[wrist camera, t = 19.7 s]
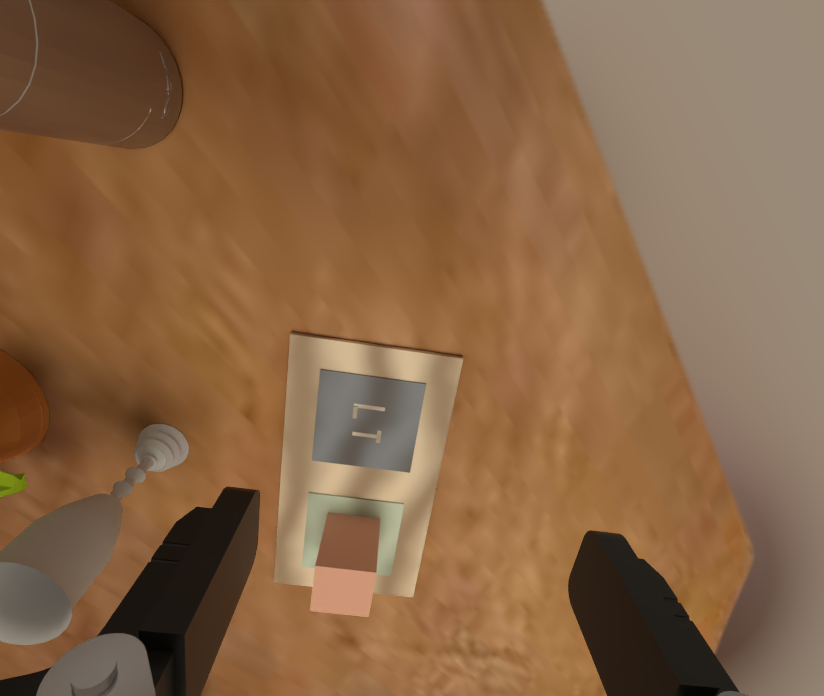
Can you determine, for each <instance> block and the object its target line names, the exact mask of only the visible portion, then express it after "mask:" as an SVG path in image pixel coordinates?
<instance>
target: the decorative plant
mask: <svg viewBox="0 0 824 696" xmlns="http://www.w3.org/2000/svg"><path fill="white" fill-rule="evenodd" d="M48 425H49V409H48V404H47V401H46V398H45V395H44V393H43V391H42V390H41V388H40V386H39V384H38V383H37V381H36V380H35V379H34V378H33V376H32V375H31V374H30V373H29V371H28V370H27V369H26V368H24V367H23V366H22V365H21V364H20V363H19V362H18V361H17V360H16V359H14V358H13V357H11V356H10V355H8V354H7V353H5V352H4V351H2V350H0V464H1V463H3V462H5V461H7V460H10V459H14V458H16V457H19V456H21V455H23V454H26V453H28V452H30V451H31V450H33V449H34V448H35V447H37V446H38V445H39V444H40V442H41V441H42V440H43V439H44V437H45V435H46V432H47V430H48ZM24 476H25V474H18V475H14V474H10V473H6V472H2V471H0V497H3V496H6V495H9V494H14V493H17V492H20V491H23V490H24V489H25V488H26V487H27V483H26V481H25V478H24Z"/></svg>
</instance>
